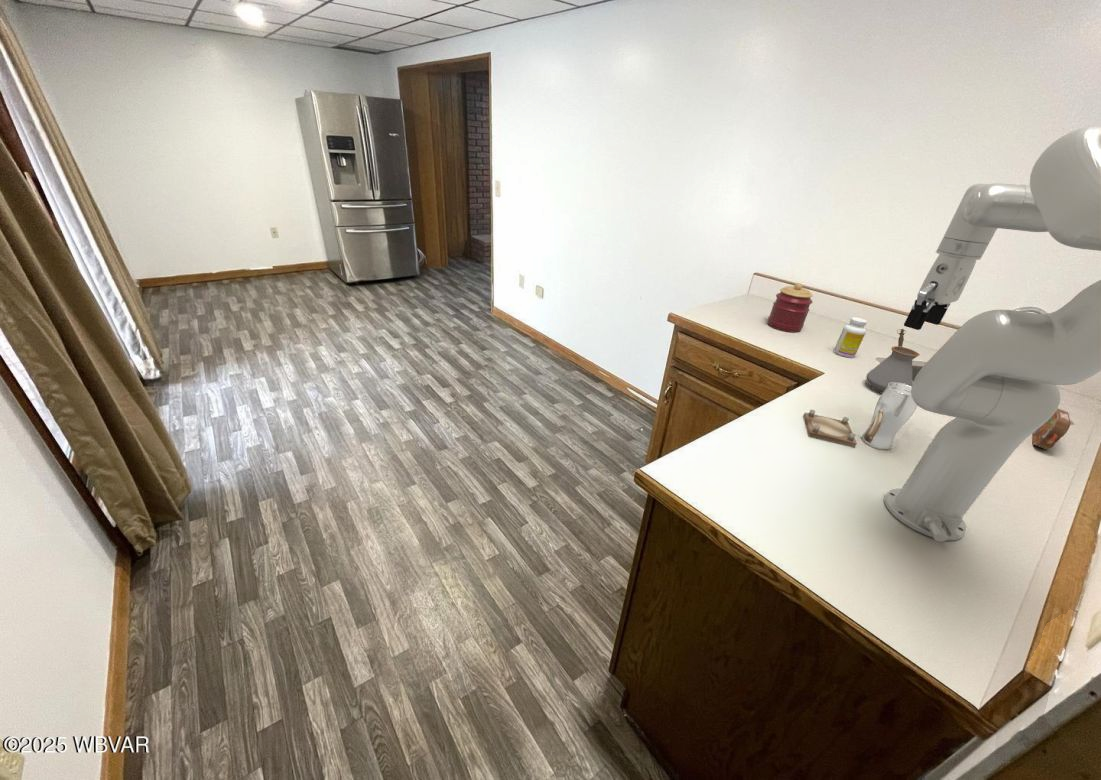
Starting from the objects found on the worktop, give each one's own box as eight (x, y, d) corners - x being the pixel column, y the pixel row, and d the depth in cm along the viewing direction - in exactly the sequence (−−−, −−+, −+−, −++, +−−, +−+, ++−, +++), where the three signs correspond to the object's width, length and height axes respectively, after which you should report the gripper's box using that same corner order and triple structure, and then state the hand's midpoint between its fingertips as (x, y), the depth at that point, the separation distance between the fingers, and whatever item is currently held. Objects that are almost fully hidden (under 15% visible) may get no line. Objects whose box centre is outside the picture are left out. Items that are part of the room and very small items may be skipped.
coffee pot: (909, 403, 123) (936, 356, 115) (863, 391, 128) (886, 345, 120) (902, 375, 139) (925, 332, 132) (861, 365, 144) (881, 323, 136)
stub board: (854, 447, 102) (859, 438, 101) (808, 436, 105) (812, 427, 103) (845, 425, 110) (850, 417, 109) (803, 416, 113) (807, 407, 111)
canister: (762, 319, 179) (776, 277, 170) (794, 322, 177) (810, 280, 169) (772, 330, 167) (787, 286, 158) (806, 334, 166) (824, 290, 157)
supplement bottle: (858, 358, 149) (875, 323, 142) (839, 357, 149) (855, 322, 142) (847, 350, 155) (862, 316, 148) (829, 349, 155) (844, 315, 148)
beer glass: (898, 453, 101) (930, 399, 93) (866, 448, 102) (896, 394, 94) (884, 436, 107) (914, 384, 99) (854, 431, 108) (881, 379, 100)
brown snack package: (1032, 427, 116) (1052, 401, 112) (1048, 433, 114) (1069, 406, 110) (1031, 450, 106) (1054, 422, 102) (1049, 456, 104) (1073, 428, 100)
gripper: (966, 254, 84) (923, 336, 92) (998, 251, 92) (956, 326, 100) (922, 246, 89) (885, 324, 98) (956, 244, 98) (919, 316, 106)
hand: (921, 325), depth 99 cm, fingers open, 9 cm apart
